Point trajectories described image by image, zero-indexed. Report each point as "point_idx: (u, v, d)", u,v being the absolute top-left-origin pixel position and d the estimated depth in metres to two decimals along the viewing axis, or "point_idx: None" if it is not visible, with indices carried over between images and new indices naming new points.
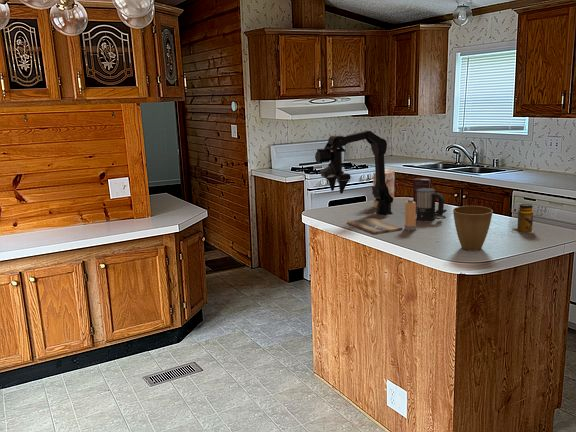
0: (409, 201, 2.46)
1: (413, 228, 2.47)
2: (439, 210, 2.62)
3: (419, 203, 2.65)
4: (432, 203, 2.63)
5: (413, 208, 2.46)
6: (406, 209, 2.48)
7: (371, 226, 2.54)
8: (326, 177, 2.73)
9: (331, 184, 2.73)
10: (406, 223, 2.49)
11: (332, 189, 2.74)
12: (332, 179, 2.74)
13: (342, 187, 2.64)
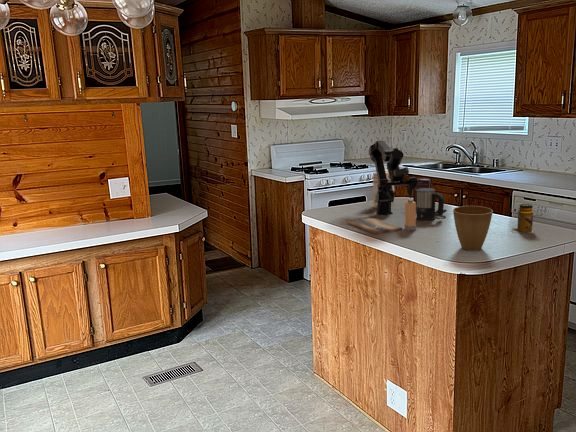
0: (409, 201, 2.46)
1: (413, 228, 2.47)
2: (439, 210, 2.62)
3: (419, 203, 2.65)
4: (432, 203, 2.63)
5: (413, 208, 2.46)
6: (406, 209, 2.48)
7: (371, 226, 2.54)
8: (387, 184, 2.55)
9: None
10: (406, 223, 2.49)
11: None
12: None
13: None
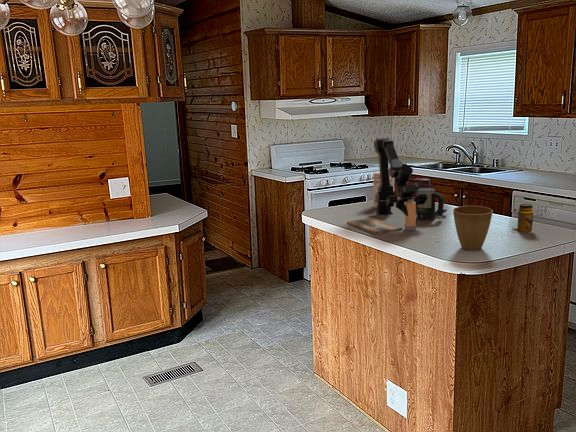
0: (409, 201, 2.46)
1: (413, 228, 2.47)
2: (439, 210, 2.62)
3: None
4: (432, 203, 2.64)
5: (413, 208, 2.46)
6: None
7: (371, 226, 2.54)
8: (402, 200, 2.48)
9: None
10: (406, 223, 2.49)
11: None
12: None
13: None
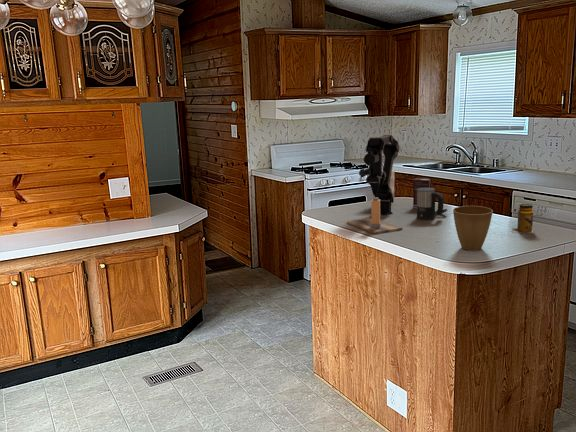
0: (373, 199, 2.49)
1: (376, 226, 2.50)
2: (439, 209, 2.63)
3: (419, 202, 2.67)
4: (432, 202, 2.65)
5: (376, 206, 2.48)
6: None
7: None
8: None
9: None
10: None
11: (378, 190, 2.74)
12: None
13: (374, 189, 2.65)
